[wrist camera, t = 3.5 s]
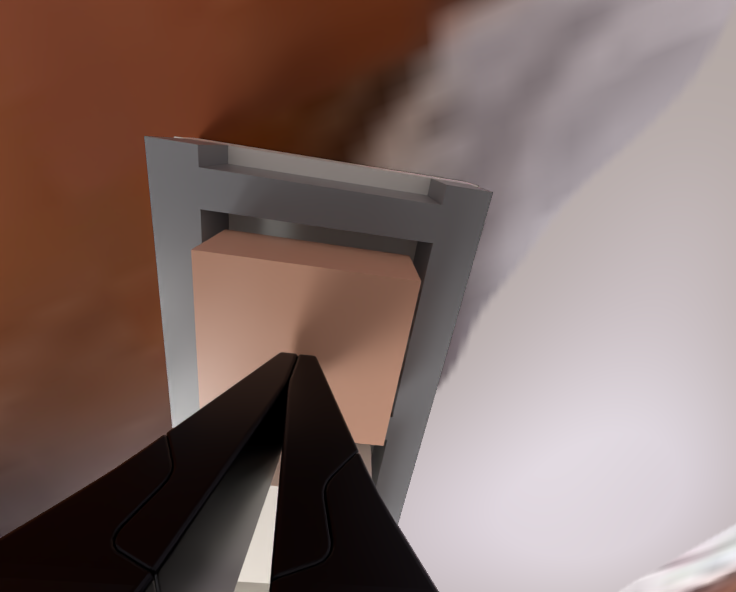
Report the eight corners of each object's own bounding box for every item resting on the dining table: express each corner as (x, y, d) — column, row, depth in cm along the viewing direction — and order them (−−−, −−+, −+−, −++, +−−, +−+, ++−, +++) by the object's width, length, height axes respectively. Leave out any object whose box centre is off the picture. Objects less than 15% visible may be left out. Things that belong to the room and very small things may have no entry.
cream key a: (351, 531, 14) (350, 588, 12) (229, 522, 14) (208, 579, 12) (370, 442, 12) (372, 494, 10) (227, 428, 12) (203, 479, 10)
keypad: (350, 633, 23) (349, 710, 20) (217, 626, 23) (193, 705, 20) (464, 181, 12) (504, 194, 9) (197, 138, 11) (130, 134, 8)
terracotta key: (379, 398, 11) (383, 445, 10) (227, 381, 11) (200, 428, 9) (409, 255, 9) (421, 281, 8) (225, 229, 9) (190, 249, 7)
